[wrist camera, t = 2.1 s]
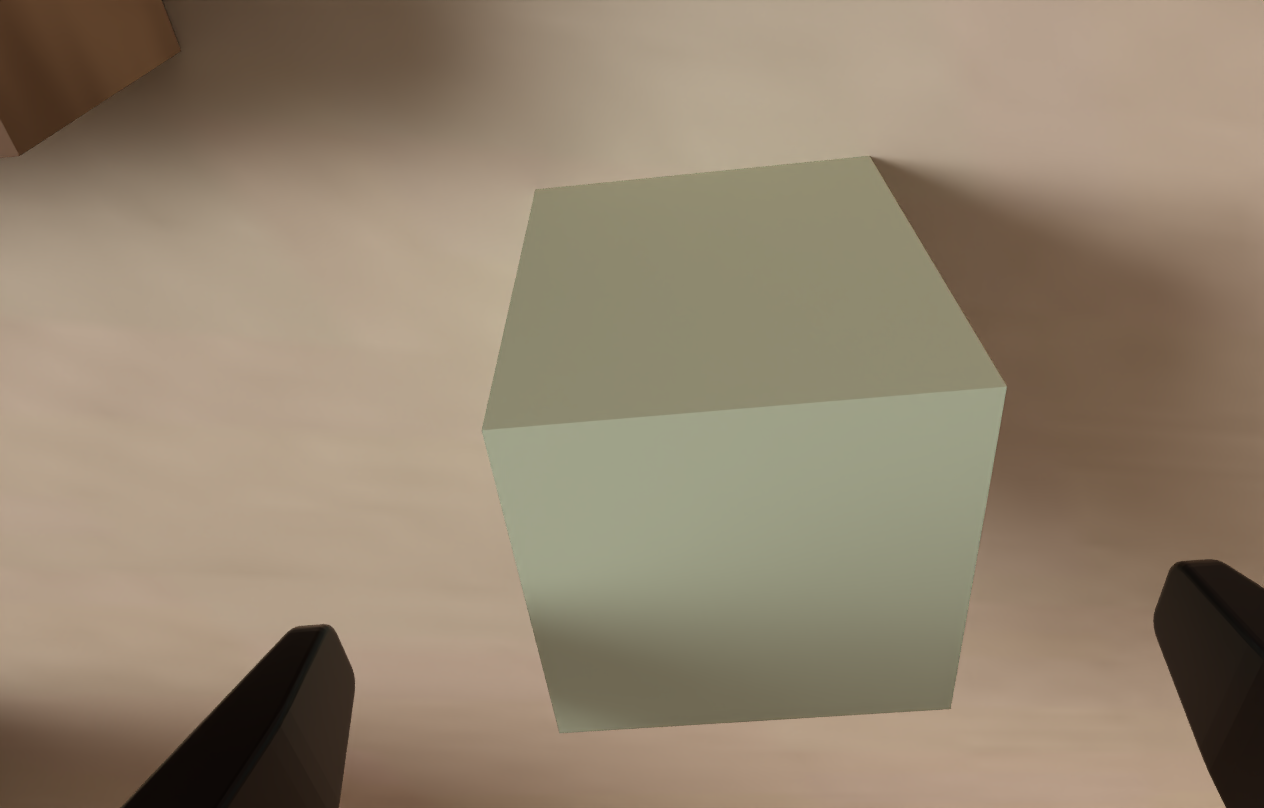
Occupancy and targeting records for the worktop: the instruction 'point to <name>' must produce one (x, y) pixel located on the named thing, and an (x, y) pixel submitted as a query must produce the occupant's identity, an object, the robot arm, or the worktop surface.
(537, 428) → the sage block
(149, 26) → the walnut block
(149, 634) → the worktop surface
